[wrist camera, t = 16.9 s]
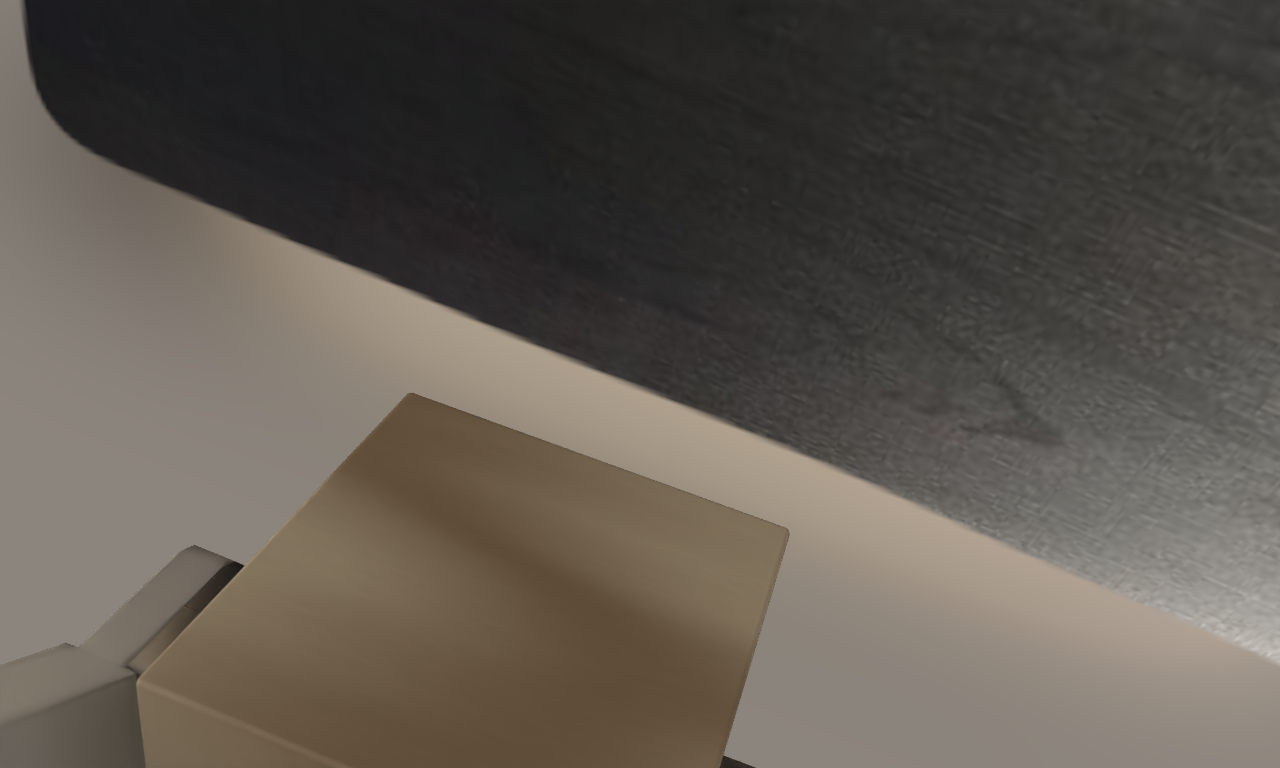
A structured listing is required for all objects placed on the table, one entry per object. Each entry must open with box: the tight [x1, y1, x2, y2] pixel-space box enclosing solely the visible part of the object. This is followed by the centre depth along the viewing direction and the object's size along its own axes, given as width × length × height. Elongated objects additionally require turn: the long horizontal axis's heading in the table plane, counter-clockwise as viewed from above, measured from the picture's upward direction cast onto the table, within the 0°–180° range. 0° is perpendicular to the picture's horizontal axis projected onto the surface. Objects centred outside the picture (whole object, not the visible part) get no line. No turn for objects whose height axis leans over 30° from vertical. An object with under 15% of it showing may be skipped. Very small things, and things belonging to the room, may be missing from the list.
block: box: [136, 393, 789, 768], centre depth 11 cm, size 4×4×4 cm
